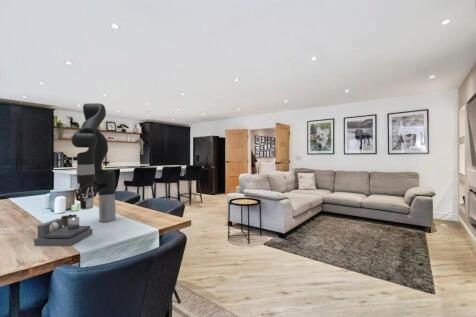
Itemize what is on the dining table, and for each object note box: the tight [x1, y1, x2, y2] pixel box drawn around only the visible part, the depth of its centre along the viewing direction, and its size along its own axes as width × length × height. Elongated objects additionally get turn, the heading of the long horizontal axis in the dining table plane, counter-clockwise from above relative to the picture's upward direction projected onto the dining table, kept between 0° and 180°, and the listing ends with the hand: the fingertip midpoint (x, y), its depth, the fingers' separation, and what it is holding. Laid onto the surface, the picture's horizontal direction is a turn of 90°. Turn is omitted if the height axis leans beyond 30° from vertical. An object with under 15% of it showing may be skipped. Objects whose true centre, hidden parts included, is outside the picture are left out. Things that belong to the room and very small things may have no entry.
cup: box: [60, 213, 78, 227], centre depth 138 cm, size 8×7×8 cm
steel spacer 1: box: [68, 216, 80, 229], centre depth 125 cm, size 5×5×5 cm
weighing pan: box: [43, 225, 91, 238], centre depth 122 cm, size 15×13×1 cm
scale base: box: [33, 218, 94, 247], centre depth 122 cm, size 16×18×9 cm
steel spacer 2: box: [84, 197, 94, 210], centre depth 119 cm, size 5×5×5 cm
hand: (86, 207), depth 119 cm, fingers closed on steel spacer 2, 5 cm apart
